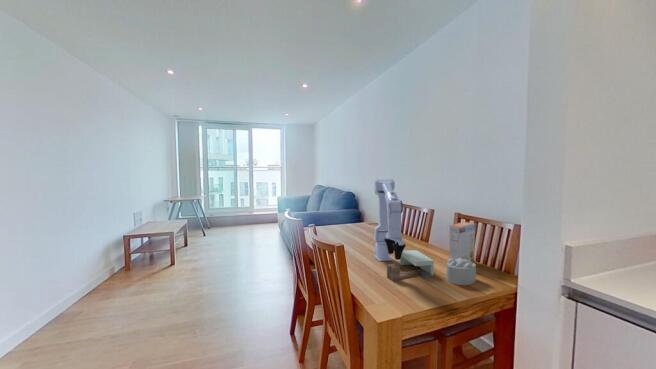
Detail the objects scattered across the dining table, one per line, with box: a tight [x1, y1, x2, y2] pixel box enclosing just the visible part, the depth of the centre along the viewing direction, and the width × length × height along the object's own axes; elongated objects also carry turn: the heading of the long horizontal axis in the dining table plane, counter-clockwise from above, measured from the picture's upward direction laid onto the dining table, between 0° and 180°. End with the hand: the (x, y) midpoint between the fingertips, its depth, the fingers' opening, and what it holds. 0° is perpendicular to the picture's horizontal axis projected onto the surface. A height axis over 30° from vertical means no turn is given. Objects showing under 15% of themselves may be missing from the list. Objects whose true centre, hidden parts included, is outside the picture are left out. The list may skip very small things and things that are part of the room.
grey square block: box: [418, 271, 433, 279], centre depth 120 cm, size 4×4×2 cm
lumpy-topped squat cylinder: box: [445, 257, 477, 286], centre depth 115 cm, size 10×13×9 cm
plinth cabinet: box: [399, 249, 435, 276], centre depth 127 cm, size 16×9×7 cm, turn 10°
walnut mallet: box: [386, 263, 424, 282], centre depth 120 cm, size 4×20×6 cm, turn 113°
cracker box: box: [449, 221, 476, 263], centre depth 135 cm, size 14×6×21 cm, turn 122°
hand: (394, 256), depth 118 cm, fingers open, 7 cm apart
